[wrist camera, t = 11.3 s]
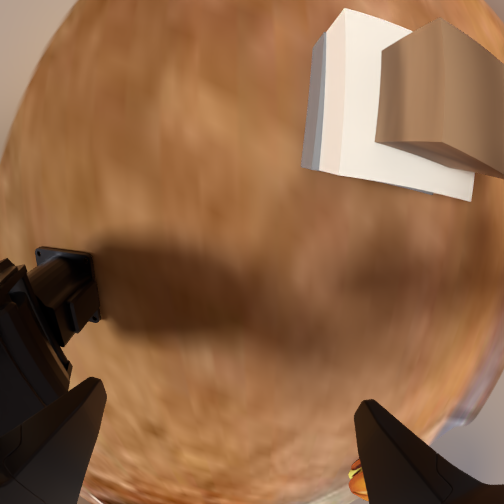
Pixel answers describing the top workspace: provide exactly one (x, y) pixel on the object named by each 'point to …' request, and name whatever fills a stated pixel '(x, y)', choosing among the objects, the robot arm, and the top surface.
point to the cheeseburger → (357, 481)
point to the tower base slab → (319, 111)
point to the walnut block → (443, 99)
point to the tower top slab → (371, 113)
